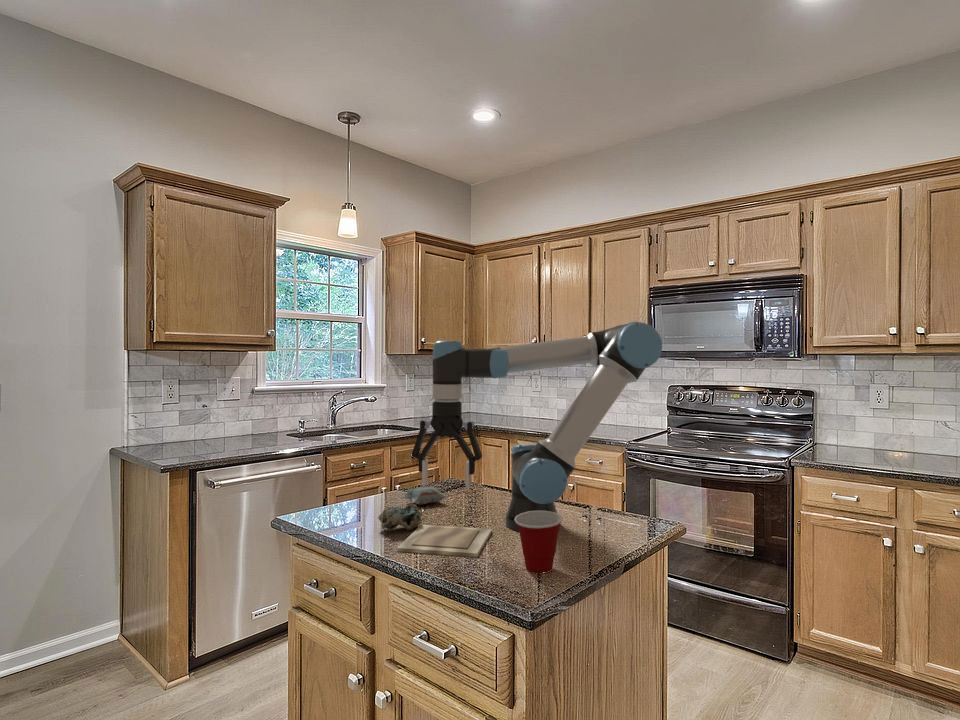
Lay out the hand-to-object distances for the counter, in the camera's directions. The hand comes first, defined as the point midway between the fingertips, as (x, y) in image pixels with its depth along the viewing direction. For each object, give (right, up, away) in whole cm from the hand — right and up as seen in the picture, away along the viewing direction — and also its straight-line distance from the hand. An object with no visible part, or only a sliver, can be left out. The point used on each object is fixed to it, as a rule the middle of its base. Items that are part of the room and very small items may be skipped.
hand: (446, 485), depth 149 cm
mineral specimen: (-14, -15, +10) cm, 23 cm away
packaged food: (-11, -16, +35) cm, 40 cm away
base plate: (0, -14, 0) cm, 14 cm away
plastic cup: (+22, -15, -20) cm, 33 cm away
